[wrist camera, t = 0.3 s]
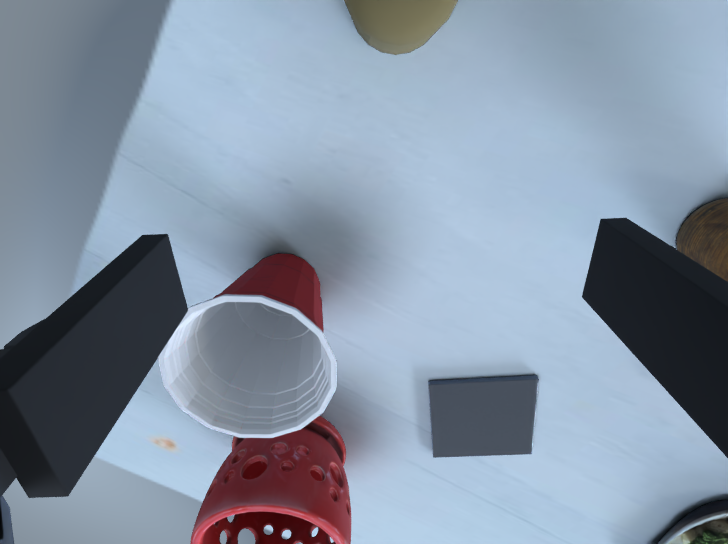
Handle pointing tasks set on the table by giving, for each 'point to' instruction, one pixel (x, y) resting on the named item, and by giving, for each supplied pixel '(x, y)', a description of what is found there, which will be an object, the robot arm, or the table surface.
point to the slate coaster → (483, 416)
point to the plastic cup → (254, 353)
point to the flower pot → (280, 489)
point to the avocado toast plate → (701, 526)
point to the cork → (398, 22)
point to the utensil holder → (707, 237)
